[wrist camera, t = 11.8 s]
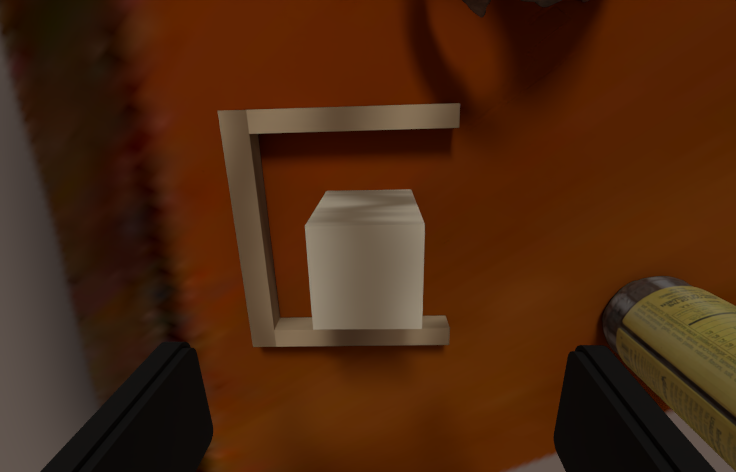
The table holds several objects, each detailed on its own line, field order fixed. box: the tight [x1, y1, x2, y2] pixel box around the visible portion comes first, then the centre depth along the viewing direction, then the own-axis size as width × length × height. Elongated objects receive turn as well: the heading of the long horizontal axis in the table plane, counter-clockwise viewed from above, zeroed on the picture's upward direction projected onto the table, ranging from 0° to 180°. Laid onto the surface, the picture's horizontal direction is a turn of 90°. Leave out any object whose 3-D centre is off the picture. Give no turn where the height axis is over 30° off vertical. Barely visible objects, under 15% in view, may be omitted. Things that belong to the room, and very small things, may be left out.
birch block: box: [305, 190, 425, 330], centre depth 20 cm, size 5×5×7 cm
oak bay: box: [218, 103, 460, 347], centre depth 22 cm, size 12×14×2 cm
